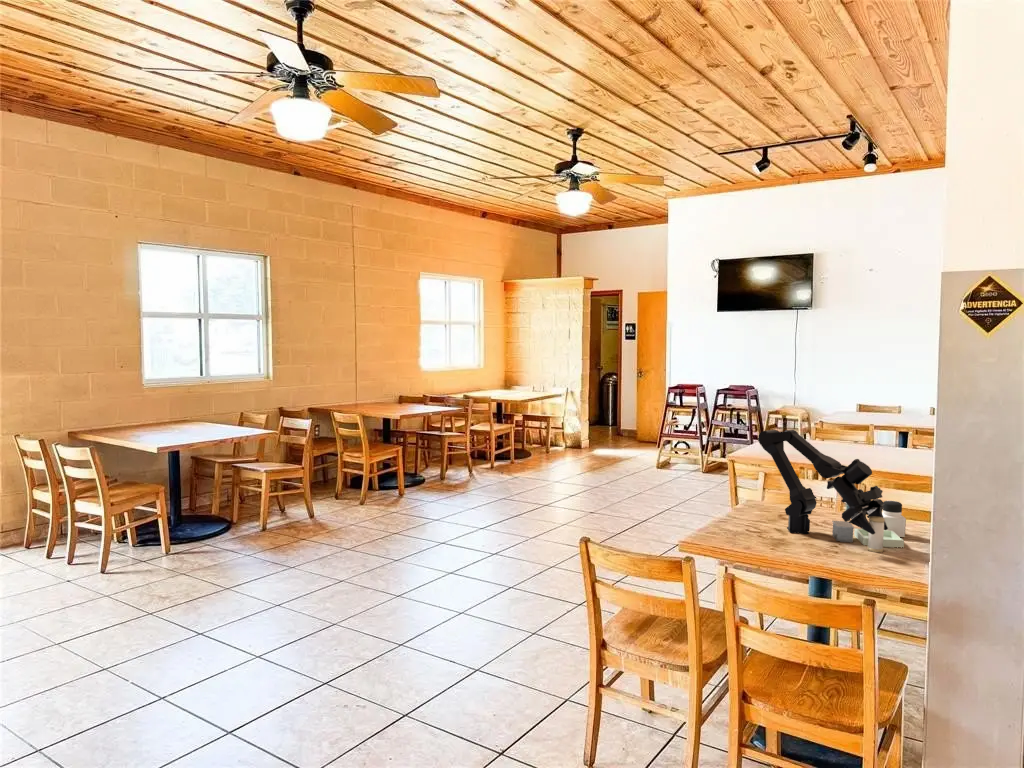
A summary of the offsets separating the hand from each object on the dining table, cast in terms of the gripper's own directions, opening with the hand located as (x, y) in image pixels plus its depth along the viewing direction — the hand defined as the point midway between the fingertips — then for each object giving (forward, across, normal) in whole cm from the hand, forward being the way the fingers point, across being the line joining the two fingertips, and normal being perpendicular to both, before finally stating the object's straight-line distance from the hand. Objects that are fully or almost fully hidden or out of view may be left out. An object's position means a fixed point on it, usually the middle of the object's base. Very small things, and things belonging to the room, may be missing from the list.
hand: (880, 531), depth 234 cm
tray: (+1, +11, +9) cm, 14 cm away
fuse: (+4, 0, +6) cm, 7 cm away
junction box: (-6, +4, +15) cm, 17 cm away
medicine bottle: (0, +24, +10) cm, 26 cm away
